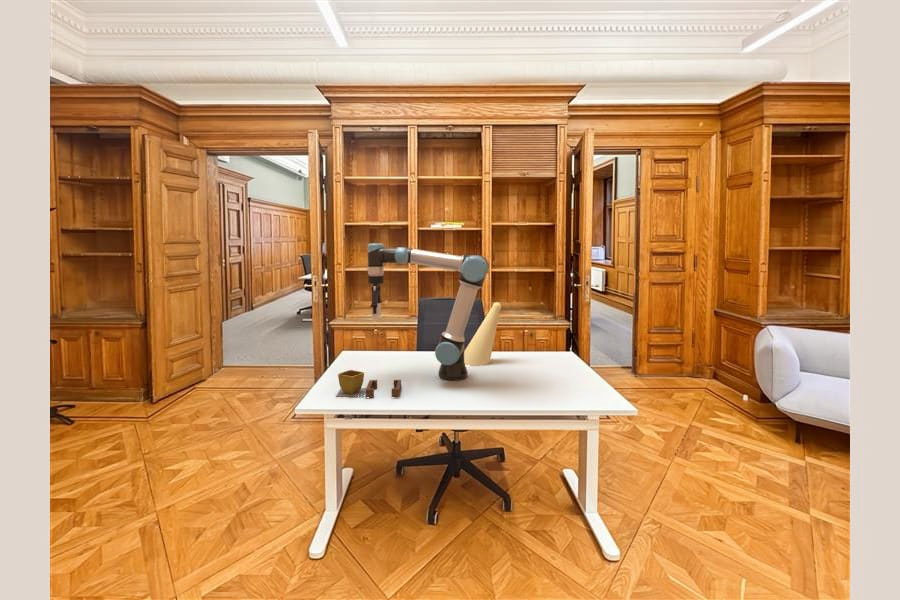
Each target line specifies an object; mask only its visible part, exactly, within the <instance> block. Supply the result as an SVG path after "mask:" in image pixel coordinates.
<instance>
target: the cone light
mask: <svg viewBox="0 0 900 600" xmlns="http://www.w3.org/2000/svg"><path fill="white" fill-rule="evenodd" d="M501 310H502V304H501V303H500V302H498V301H497V302H493V304H492V306H491V308H490V309H489V311H488V313H487V314H486V316H485V318H483V319H484V320H482V322H481V324H480V326H479V327H478V328H477V331H476V332H475V334H474V335H473V337H472V338H471V340H470V342H469V343H468V345H467V346H466V348H465V349H464V363H465V365H470V366H469V367H480V366H479V365H483V366H486V364H487V365H489V364H490V363H491V358H492V351H493V348H494V343H495V338H496V333H497V327H498V322H499V318H500V312H501ZM488 363H489V364H488Z"/></svg>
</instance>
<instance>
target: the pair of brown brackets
mask: <svg viewBox="0 0 900 600" xmlns="http://www.w3.org/2000/svg"><path fill="white" fill-rule="evenodd" d="M365 388H366V391H365V398H366V397H369V398H368V399H374V398H375V390H378V379H369V381H368V383H367V386H366V387H365ZM401 391H402V379H393V387H392V388H391V398H392V397H401V393H400V392H401Z"/></svg>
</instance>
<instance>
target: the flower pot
mask: <svg viewBox="0 0 900 600" xmlns="http://www.w3.org/2000/svg"><path fill="white" fill-rule="evenodd" d="M337 377H338V385H339V386H340V389H342V390H343V392H345V393H350V394H353V393H356V392H358V391H359V390H360V389H361V388H363V384H364V378H365V372H363V371H358V370H355V369H354V370H353V369H348V370H346V371H343V372H339V373H338V374H337Z"/></svg>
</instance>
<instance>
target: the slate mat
mask: <svg viewBox="0 0 900 600" xmlns="http://www.w3.org/2000/svg"><path fill="white" fill-rule="evenodd" d="M366 388H367V387H361V389H360V390H359V391H358V392H356V393H353V394H350V393H345V392H343V390H342V389H341V388H339V390H338V392H337V393H336V395H335V398H336V397H349V398H362V397H361V396H363V395H364V396H365V394H366V391H365V390H366ZM358 396H359V397H358ZM364 396H363V397H364Z"/></svg>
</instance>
